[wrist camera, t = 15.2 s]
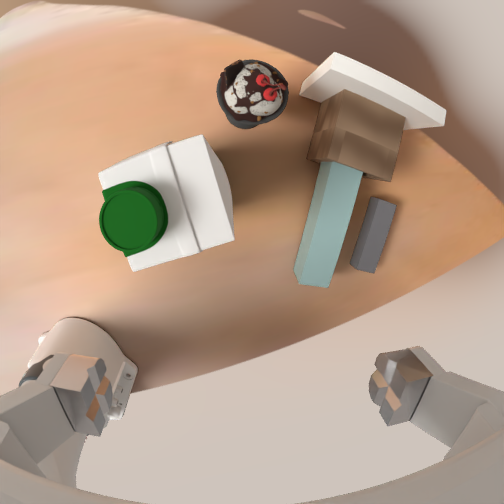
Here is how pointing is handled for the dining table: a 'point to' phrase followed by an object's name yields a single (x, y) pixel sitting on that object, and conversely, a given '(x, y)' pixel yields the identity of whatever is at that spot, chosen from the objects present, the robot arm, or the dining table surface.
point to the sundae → (251, 93)
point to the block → (357, 135)
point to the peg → (326, 223)
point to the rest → (373, 235)
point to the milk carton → (167, 203)
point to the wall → (372, 90)
